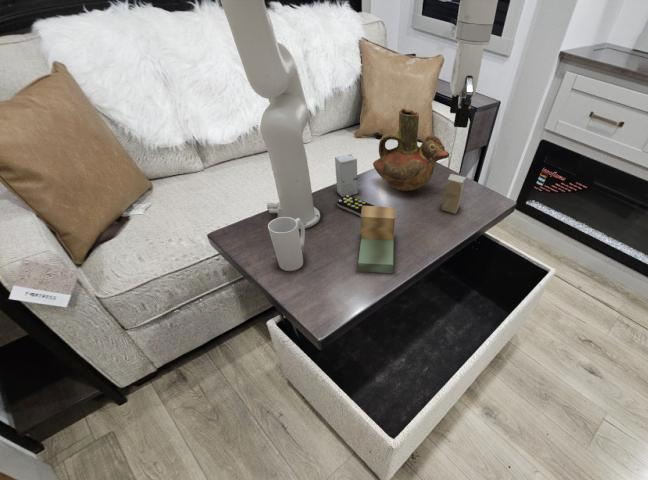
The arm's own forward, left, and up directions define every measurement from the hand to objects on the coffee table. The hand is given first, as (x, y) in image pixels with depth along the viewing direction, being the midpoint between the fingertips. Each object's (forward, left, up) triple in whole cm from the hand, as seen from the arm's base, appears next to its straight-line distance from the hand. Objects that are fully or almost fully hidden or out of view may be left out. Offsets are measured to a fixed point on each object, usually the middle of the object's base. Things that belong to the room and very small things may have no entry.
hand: (457, 119), depth 84 cm
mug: (-41, -21, -31) cm, 55 cm away
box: (+4, +9, -31) cm, 32 cm away
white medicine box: (-31, +16, -31) cm, 46 cm away
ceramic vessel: (-10, +22, -31) cm, 39 cm away
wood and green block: (-19, -16, -31) cm, 40 cm away
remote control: (-27, +6, -31) cm, 41 cm away
